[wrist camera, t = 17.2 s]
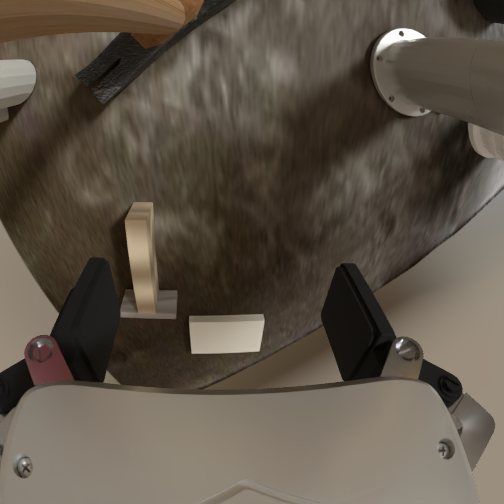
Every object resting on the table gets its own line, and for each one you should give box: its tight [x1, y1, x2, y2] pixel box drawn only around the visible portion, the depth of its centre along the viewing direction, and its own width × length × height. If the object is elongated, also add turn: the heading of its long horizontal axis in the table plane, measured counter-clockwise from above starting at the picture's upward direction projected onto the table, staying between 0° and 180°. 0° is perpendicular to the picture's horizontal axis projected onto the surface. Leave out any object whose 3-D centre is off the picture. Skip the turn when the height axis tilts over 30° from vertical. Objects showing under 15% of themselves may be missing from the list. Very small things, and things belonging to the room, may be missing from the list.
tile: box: [189, 314, 265, 354], centre depth 49 cm, size 12×2×8 cm
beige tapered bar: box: [120, 202, 178, 319], centre depth 37 cm, size 15×8×5 cm, turn 174°
